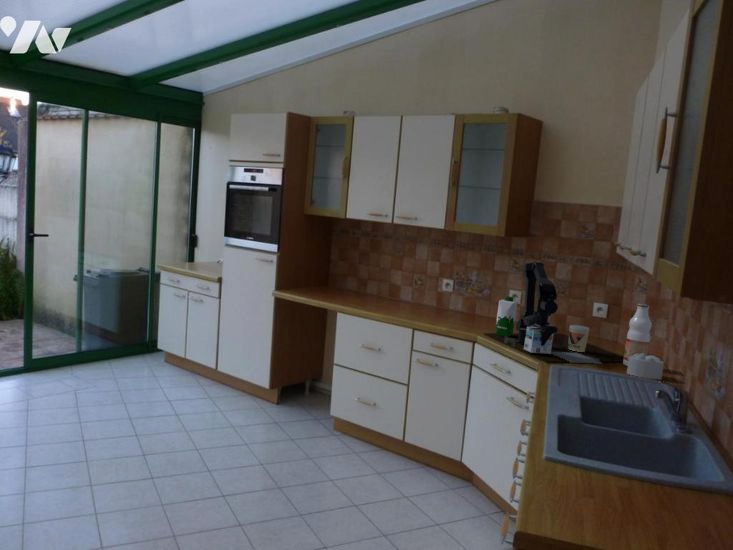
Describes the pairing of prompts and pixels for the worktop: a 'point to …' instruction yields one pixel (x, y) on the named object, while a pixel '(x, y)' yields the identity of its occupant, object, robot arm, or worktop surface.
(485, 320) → the worktop surface
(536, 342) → the light bulb box
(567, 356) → the mat
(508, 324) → the milk carton
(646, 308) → the fruit juice
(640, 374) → the lumpy-topped squat cylinder
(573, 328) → the coffee cup
